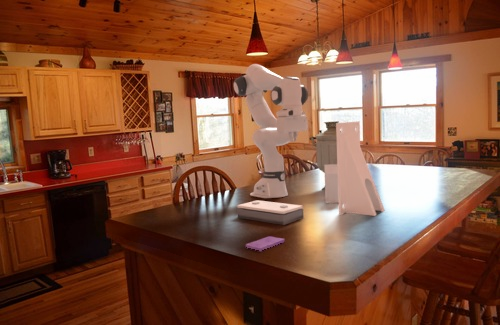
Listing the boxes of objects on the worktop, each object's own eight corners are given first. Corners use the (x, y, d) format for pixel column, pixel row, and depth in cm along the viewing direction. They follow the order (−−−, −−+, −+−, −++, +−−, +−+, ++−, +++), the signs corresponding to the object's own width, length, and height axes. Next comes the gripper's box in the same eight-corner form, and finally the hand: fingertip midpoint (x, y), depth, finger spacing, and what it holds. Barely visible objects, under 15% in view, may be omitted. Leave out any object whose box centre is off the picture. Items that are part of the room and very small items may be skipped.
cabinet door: (237, 207, 180) (237, 203, 180) (257, 202, 191) (257, 199, 191) (283, 214, 163) (283, 210, 163) (303, 208, 173) (303, 204, 173)
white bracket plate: (369, 218, 167) (367, 121, 163) (338, 214, 177) (336, 123, 173) (389, 208, 182) (387, 120, 178) (359, 205, 192) (357, 121, 187)
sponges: (245, 249, 137) (245, 244, 136) (270, 240, 146) (269, 235, 145) (260, 253, 132) (260, 247, 132) (285, 243, 141) (284, 238, 141)
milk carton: (340, 203, 199) (338, 165, 197) (325, 203, 201) (324, 165, 199) (339, 200, 206) (338, 163, 204) (325, 200, 208) (324, 163, 206)
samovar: (372, 188, 236) (370, 119, 232) (341, 194, 221) (338, 121, 217) (335, 183, 260) (332, 121, 256) (304, 188, 246) (302, 123, 242)
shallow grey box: (237, 217, 181) (237, 208, 180) (258, 211, 191) (257, 202, 191) (284, 225, 163) (283, 215, 163) (303, 217, 174) (303, 208, 173)
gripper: (299, 111, 196) (300, 139, 198) (273, 112, 181) (274, 143, 183) (310, 111, 192) (311, 140, 194) (285, 112, 177) (285, 143, 179)
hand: (293, 141), depth 188 cm, fingers closed
